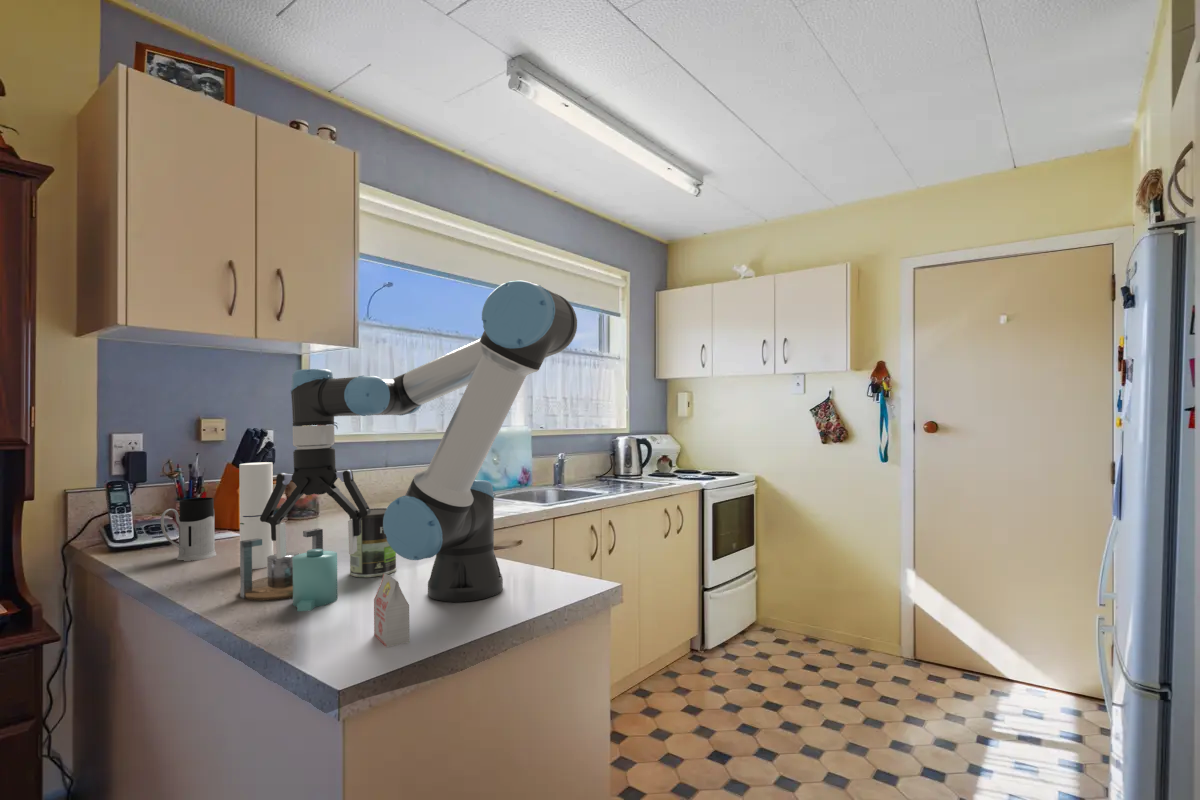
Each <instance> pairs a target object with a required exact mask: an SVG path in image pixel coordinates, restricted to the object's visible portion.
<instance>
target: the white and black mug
mask: <svg viewBox="0 0 1200 800" xmlns="http://www.w3.org/2000/svg"><path fill="white" fill-rule="evenodd" d="M214 499H215V498H213V497H194V498H193V497H192V498H184V499H181V500H179V513H178V511H177V510H176V509H175V508H168V509H166V510H164V511H163V512H162V514H161V515H160V528H161V532H162V533H163V536H164V537H165V539H166V540H167V541H168V542H170V544H172V545H173V546H175V547H177V548H178V556H177V558H176V561H178V560H184V561H183V562H194V561H200V560H202V561H203V560H206V559H211V558H214V557H215V556H217V552H216V550H215V548H216V547H215V544H216V543H215V508H214V507H215V505H214V503H215V502H214ZM170 511H172V512H173V513H174V514H175V521H176V524H178V543H176V542H175V541H174V540H172V539H171V538H170V537H169V535H168V533H167V531H166V529H165V516H166V514H167V513H168V512H170ZM191 560H192V561H191ZM193 560H194V561H193Z"/></svg>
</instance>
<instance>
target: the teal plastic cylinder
mask: <svg viewBox="0 0 1200 800" xmlns="http://www.w3.org/2000/svg"><path fill="white" fill-rule="evenodd" d="M337 600H338V552H336V551H333V550H324V548H323V549H312V548H311V549H308V550H307V551H306V552H303V553H299V554H298V555H296V556H294V557H293V597H292V606H293V607H296V608H297V612H308V611H309V612H311V611H312V610H313V609H315V608H319V607H322V606H327V605H330V604H333V603H334V602H336V601H337Z"/></svg>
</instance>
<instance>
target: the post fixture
mask: <svg viewBox="0 0 1200 800" xmlns="http://www.w3.org/2000/svg"><path fill="white" fill-rule="evenodd" d="M323 531H324V529H323V528H319V527H318V528H312V529H307V530H302V536H303V537H305V538H311V542H312V543H311V549H323V550H324V540H323V539H324V535H323V534H324V533H323ZM260 545H262V539H260V538H256V539H250V540H244V541H240V540H239V569H240V571H239V573H240V575H239V576H240V577H239V578H240V579H239V580H240V588H239V596H240V598H241V599H244V600H249V601H256V602H257V601H261V602H263V601H264V602H265V601H277V600H284V599H293V557H294V556H296V555H298V554H300V553H298V552H292V551H291V552H288V551H287V552H286V556H284V557H282V558H279V559H277V553H275V554H274V553H273V555H270V556H268V557H267V567H266V569H267V570H266V571H267V572H266V573H267V576H266V577H261V578H258V579H255V580H253V569H252V547H254V546H260Z"/></svg>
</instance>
